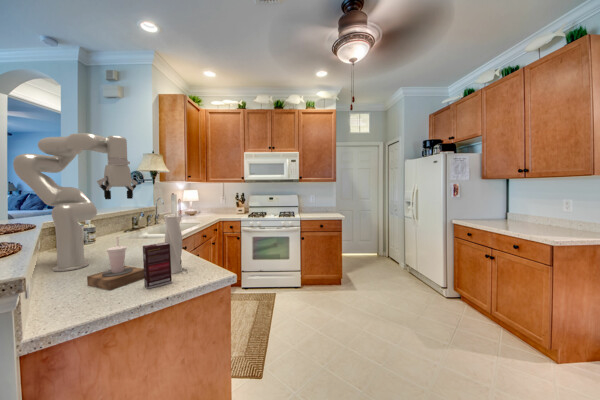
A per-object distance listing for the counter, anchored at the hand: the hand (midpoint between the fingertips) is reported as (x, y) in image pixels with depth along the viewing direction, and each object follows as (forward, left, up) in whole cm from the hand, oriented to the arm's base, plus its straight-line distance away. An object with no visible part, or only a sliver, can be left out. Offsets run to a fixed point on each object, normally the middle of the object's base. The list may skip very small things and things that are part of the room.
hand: (119, 198), depth 114 cm
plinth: (+17, -12, -33) cm, 39 cm away
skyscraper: (+29, +5, -34) cm, 45 cm away
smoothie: (+17, -12, -30) cm, 36 cm away
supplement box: (+36, -9, -34) cm, 50 cm away
